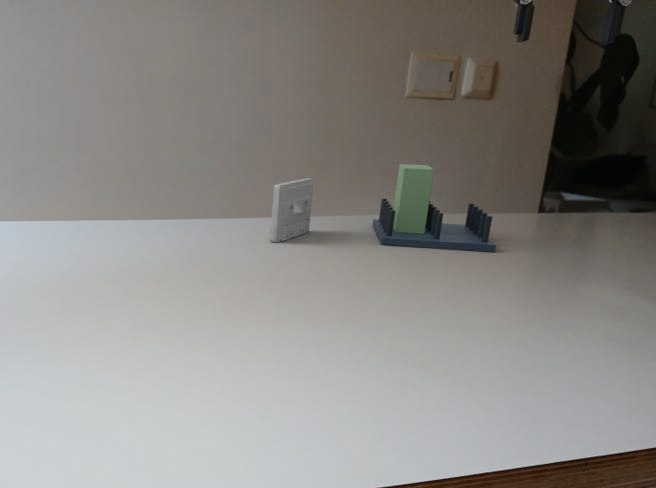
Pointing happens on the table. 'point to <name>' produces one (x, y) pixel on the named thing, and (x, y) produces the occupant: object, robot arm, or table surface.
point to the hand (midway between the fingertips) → (563, 42)
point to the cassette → (291, 209)
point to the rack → (438, 231)
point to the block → (412, 198)
